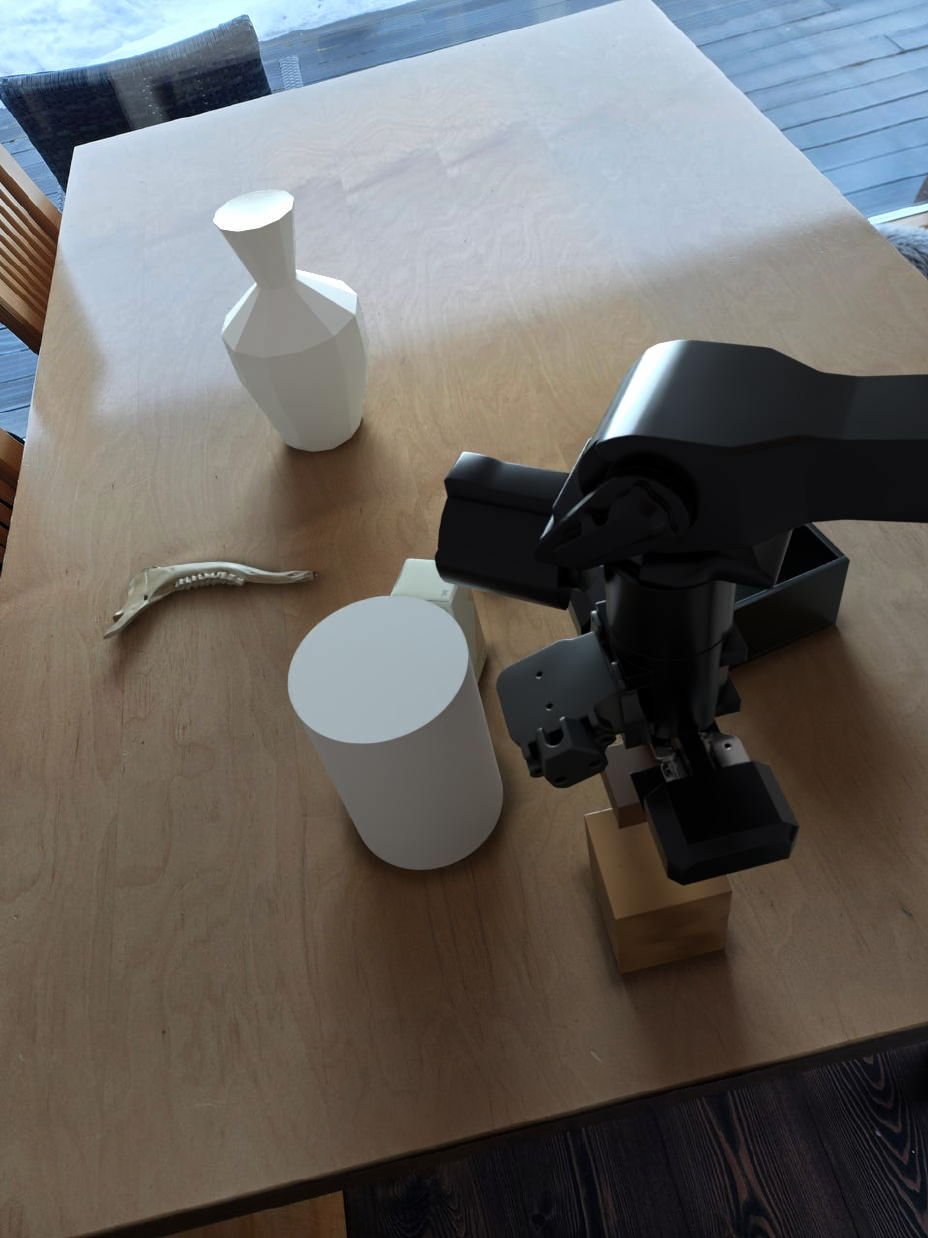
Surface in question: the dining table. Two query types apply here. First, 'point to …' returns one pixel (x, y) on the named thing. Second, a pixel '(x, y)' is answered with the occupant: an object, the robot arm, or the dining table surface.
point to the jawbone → (190, 584)
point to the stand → (651, 898)
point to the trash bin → (793, 596)
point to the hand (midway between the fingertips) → (667, 782)
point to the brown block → (627, 780)
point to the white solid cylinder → (400, 728)
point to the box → (445, 603)
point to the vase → (293, 329)
